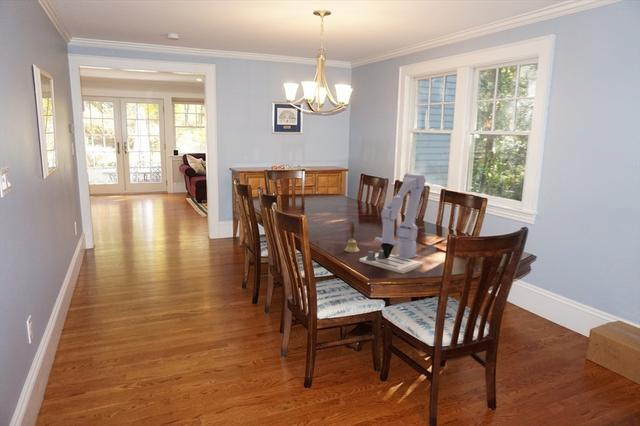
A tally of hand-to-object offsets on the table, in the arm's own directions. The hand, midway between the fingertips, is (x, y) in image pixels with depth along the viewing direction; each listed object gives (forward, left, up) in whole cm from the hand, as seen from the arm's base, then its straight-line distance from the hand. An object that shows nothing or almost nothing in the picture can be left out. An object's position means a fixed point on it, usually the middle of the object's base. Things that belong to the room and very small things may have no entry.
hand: (387, 257), depth 224 cm
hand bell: (-4, -26, -3) cm, 27 cm away
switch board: (0, +3, -2) cm, 4 cm away
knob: (+6, -5, -1) cm, 8 cm away
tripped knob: (0, -3, -1) cm, 3 cm away
